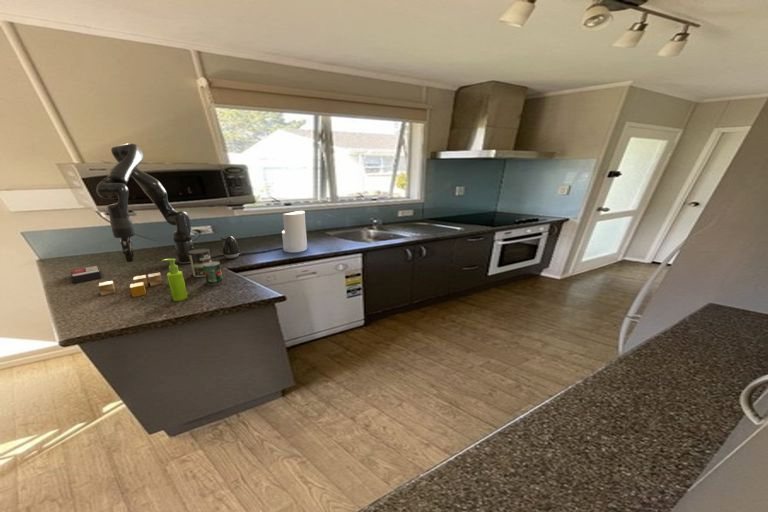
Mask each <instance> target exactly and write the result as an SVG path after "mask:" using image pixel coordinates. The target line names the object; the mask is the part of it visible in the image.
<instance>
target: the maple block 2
mask: <svg viewBox="0 0 768 512" xmlns="http://www.w3.org/2000/svg"><path fill="white" fill-rule="evenodd" d="M147 279H148V283H149V286H150V287H153V286H158V285H162V284H163V278H162V275H161V272H154V273H148V274H147Z"/></svg>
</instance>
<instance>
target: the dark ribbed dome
mask: <svg viewBox="0 0 768 512" xmlns="http://www.w3.org/2000/svg"><path fill="white" fill-rule="evenodd" d="M220 240H222V241H223V244H222V255H224V256H223V257H225V258H226V259H228V260H229V259H230V260H233V259H236V258H238V257H239V254H240V252H241V250H240V246H239V244H238V241H237V240H236V239H235V237H234V236H232V235H228V236H226V237H220Z"/></svg>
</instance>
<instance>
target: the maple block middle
mask: <svg viewBox="0 0 768 512" xmlns="http://www.w3.org/2000/svg"><path fill="white" fill-rule="evenodd" d="M132 281H133V284H135V283H140V282H144V286H145V288H147V287H149V280H148V276H147V275H146V274H143V275H136V276H133V279H132Z"/></svg>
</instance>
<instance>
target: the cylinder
mask: <svg viewBox="0 0 768 512" xmlns="http://www.w3.org/2000/svg"><path fill="white" fill-rule="evenodd" d="M282 221H283V230H281V238H282V247H283V248H282V249H283V251H284V252H285V253H301V252H304V251H306V250H308V239H307V227H306V226H307V224H306V212H305V210H297V211H293V212H287V213H282Z"/></svg>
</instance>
